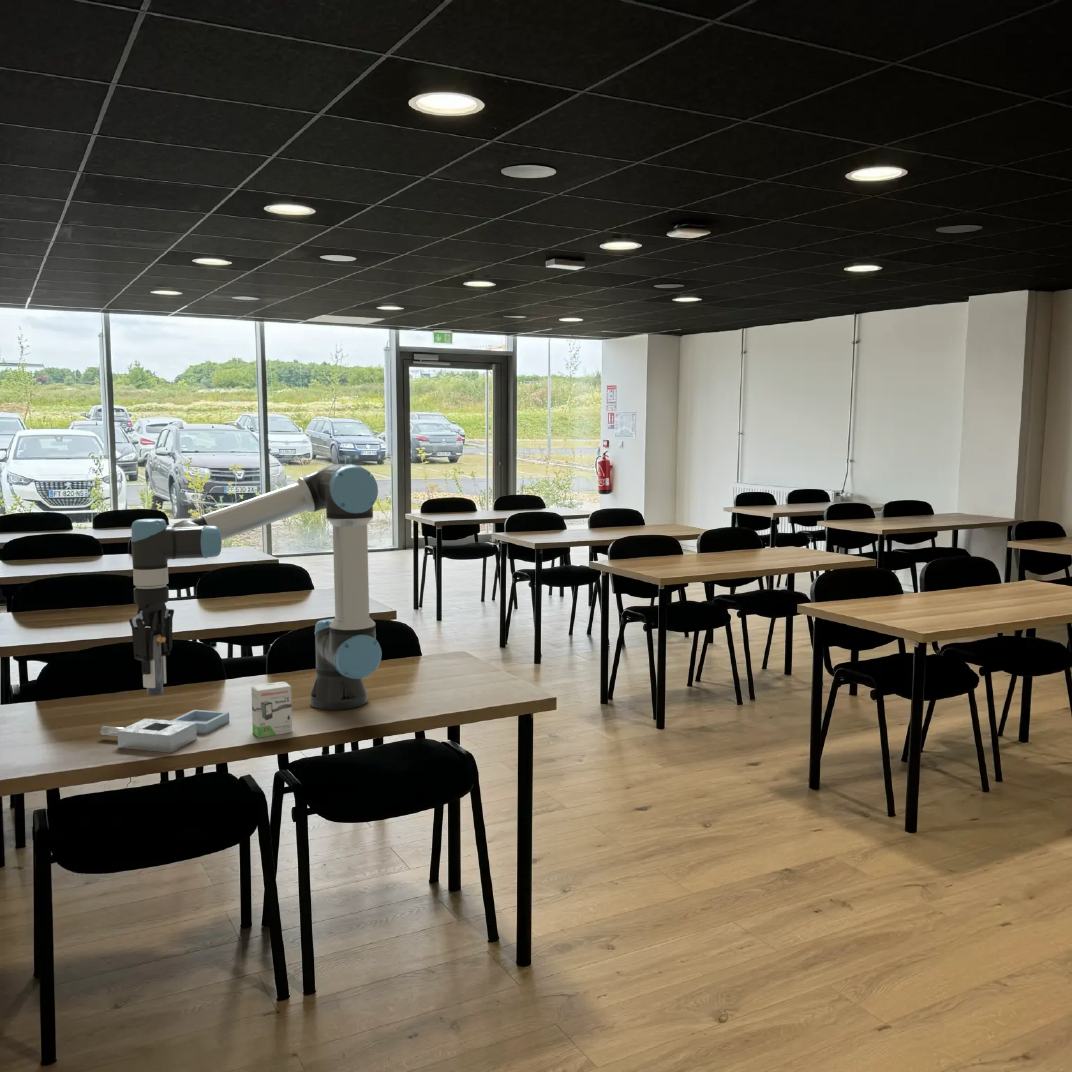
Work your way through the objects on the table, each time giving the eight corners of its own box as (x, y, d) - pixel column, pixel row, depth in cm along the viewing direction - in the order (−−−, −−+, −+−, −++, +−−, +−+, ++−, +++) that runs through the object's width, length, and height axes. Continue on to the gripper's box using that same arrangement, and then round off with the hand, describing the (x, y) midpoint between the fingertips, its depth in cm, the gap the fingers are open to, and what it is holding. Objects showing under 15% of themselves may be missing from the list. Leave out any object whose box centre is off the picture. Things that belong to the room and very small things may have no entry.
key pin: (171, 692, 224) (169, 633, 223) (162, 696, 221) (160, 636, 219) (147, 690, 226) (145, 632, 224) (138, 694, 222) (136, 635, 221)
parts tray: (229, 722, 241) (229, 712, 241) (206, 734, 231) (206, 724, 231) (194, 719, 244) (194, 709, 243) (170, 730, 234) (170, 721, 234)
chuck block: (196, 739, 228) (196, 722, 227) (170, 752, 218) (170, 735, 218) (117, 732, 233) (116, 716, 233) (88, 744, 223) (87, 728, 223)
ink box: (258, 738, 228) (256, 690, 227) (252, 733, 232) (250, 685, 231) (293, 732, 233) (291, 685, 232) (286, 727, 237) (285, 680, 236)
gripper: (159, 580, 229) (162, 675, 232) (113, 590, 214) (117, 693, 216) (186, 581, 228) (190, 677, 230) (142, 592, 212) (146, 695, 214)
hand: (155, 684), depth 223 cm, fingers closed on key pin, 3 cm apart
